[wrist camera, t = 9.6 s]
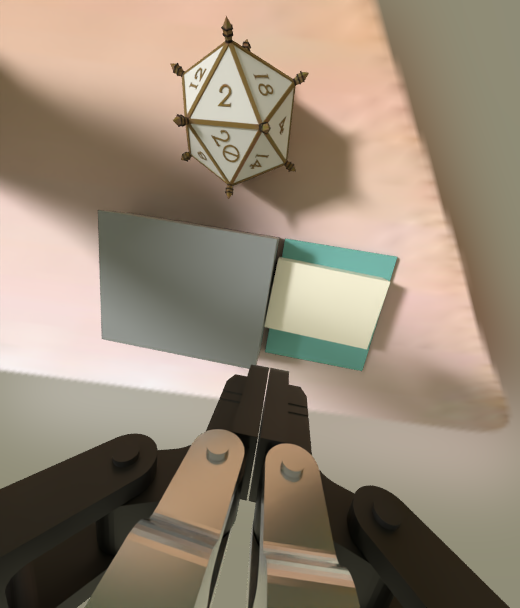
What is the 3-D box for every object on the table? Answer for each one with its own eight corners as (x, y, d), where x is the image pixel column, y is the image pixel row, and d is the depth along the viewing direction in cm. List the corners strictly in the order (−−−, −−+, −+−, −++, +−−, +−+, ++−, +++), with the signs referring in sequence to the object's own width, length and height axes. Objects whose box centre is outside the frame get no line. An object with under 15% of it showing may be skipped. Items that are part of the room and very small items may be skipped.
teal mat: (285, 238, 23) (285, 238, 22) (395, 256, 22) (397, 257, 22) (265, 350, 26) (265, 352, 26) (361, 368, 25) (362, 371, 25)
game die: (274, 158, 24) (339, 185, 17) (190, 191, 23) (222, 235, 16) (250, 21, 18) (335, -26, 11) (135, 57, 17) (146, 31, 10)
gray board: (129, 213, 24) (97, 209, 20) (279, 237, 23) (277, 239, 19) (128, 323, 27) (101, 339, 23) (260, 349, 26) (255, 370, 22)
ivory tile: (279, 256, 23) (278, 259, 21) (381, 277, 22) (390, 281, 20) (266, 319, 25) (264, 326, 23) (361, 339, 24) (367, 349, 22)
